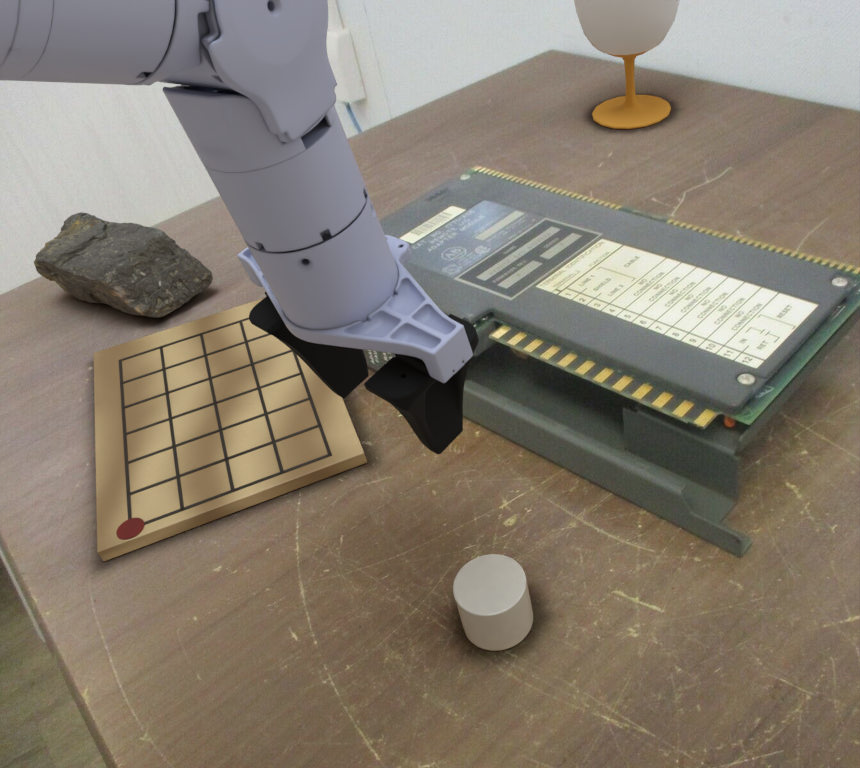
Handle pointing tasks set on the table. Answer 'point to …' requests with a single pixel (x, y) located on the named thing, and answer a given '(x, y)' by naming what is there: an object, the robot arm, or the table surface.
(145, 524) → the board
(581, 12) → the cup
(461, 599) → the grey short cylinder
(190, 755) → the table surface
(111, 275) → the rock
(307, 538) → the table surface
